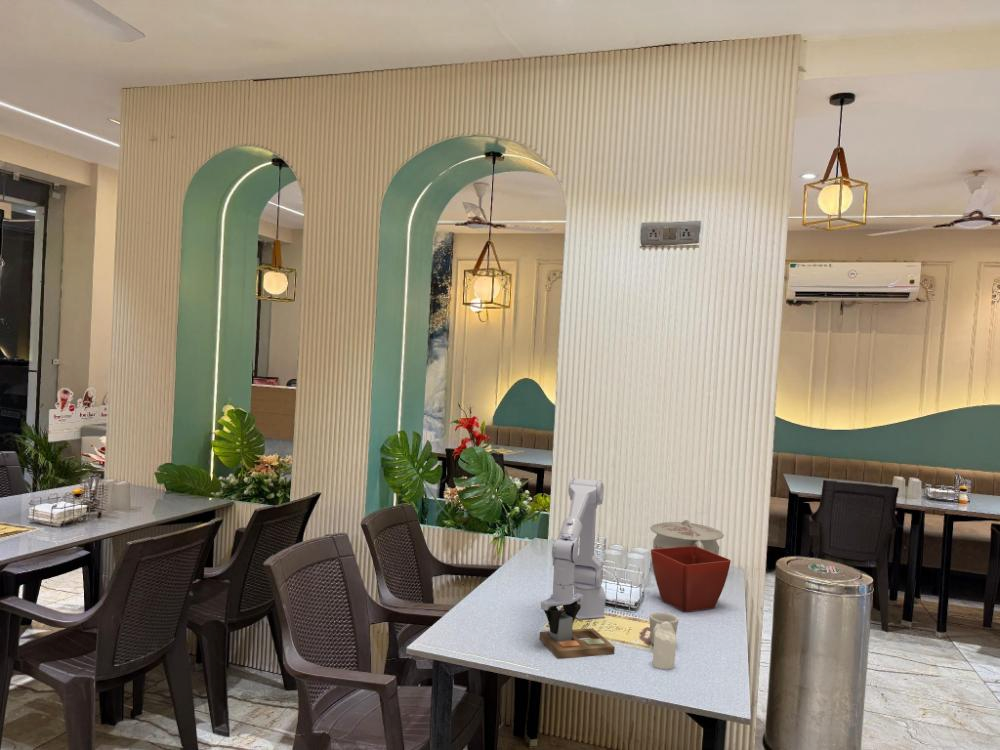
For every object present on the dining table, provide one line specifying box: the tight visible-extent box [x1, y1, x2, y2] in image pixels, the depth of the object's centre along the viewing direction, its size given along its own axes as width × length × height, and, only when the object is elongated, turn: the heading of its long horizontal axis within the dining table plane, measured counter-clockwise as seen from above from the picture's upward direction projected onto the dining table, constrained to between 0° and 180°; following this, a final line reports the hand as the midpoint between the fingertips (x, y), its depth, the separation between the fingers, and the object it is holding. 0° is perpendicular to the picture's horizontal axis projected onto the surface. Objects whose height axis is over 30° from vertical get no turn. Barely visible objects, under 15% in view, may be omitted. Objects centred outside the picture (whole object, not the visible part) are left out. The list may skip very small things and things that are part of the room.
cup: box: [649, 611, 679, 645], centre depth 210 cm, size 11×8×8 cm
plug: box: [549, 609, 574, 642], centre depth 209 cm, size 4×4×8 cm
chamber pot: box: [649, 519, 725, 556], centre depth 285 cm, size 28×28×21 cm
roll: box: [652, 621, 677, 670], centre depth 197 cm, size 6×12×6 cm
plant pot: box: [650, 546, 732, 613], centre depth 248 cm, size 19×19×17 cm
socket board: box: [539, 628, 616, 660], centre depth 207 cm, size 16×14×2 cm
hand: (560, 630), depth 209 cm, fingers closed on plug, 5 cm apart
